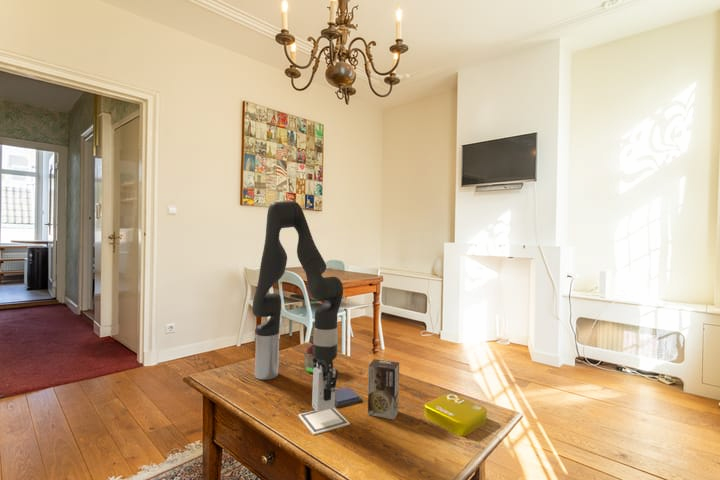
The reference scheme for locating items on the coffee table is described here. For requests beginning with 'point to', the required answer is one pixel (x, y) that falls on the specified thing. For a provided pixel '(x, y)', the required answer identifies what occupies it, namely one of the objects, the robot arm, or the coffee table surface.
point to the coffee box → (383, 388)
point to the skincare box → (321, 392)
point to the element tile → (455, 414)
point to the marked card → (323, 420)
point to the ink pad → (345, 397)
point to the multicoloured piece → (309, 357)
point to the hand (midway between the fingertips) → (323, 396)
